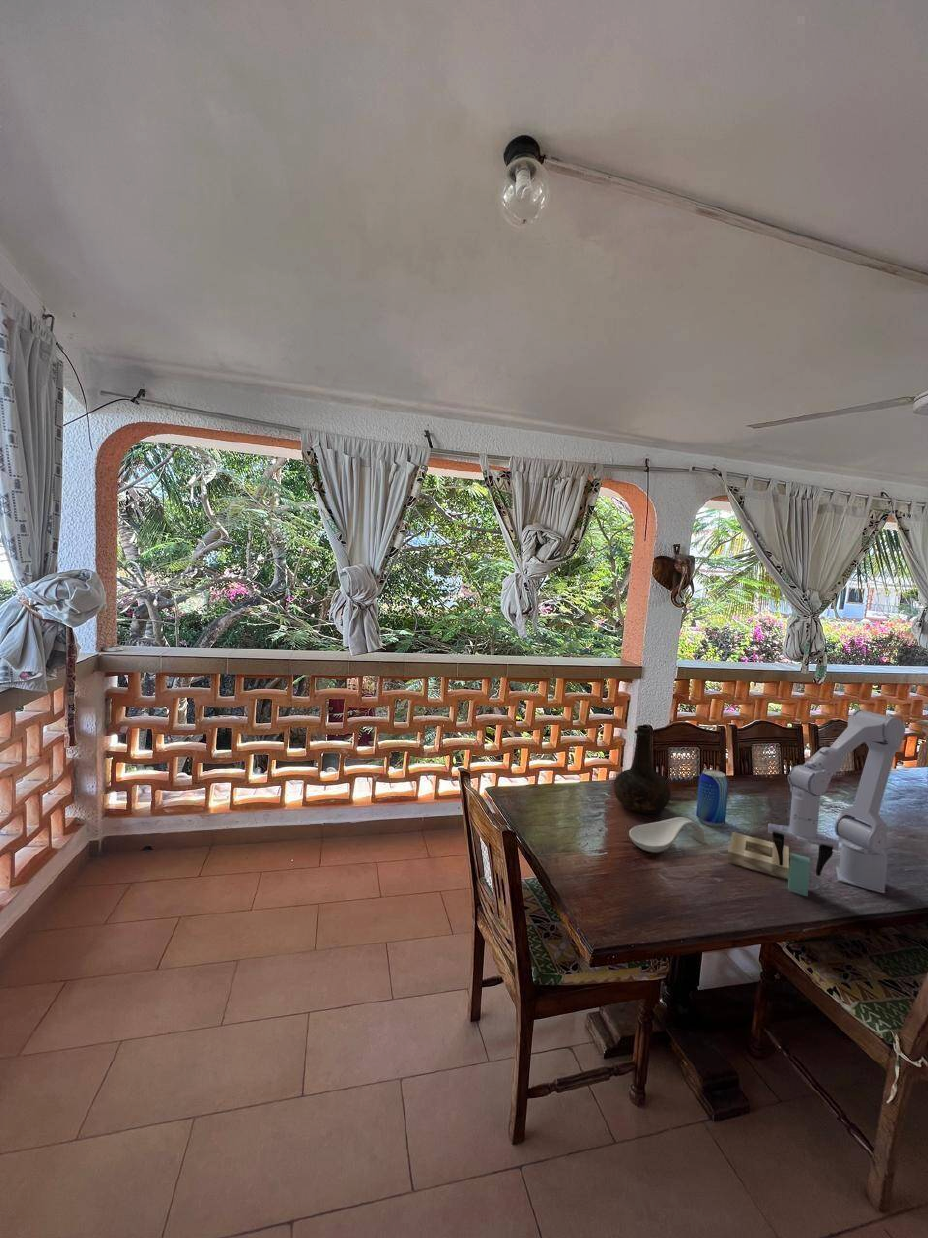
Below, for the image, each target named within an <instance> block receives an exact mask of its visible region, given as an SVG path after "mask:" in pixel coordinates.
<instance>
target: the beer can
mask: <svg viewBox="0 0 928 1238" xmlns="http://www.w3.org/2000/svg"><path fill="white" fill-rule="evenodd" d="M728 790H729V781H728V779H727V777H726V774H725V773H724V772H723V771H720V770H715V769H707V768H706V769H703V770H702V773H701V774H700V775H699V777H698V787H697V799H696V800H697V801H696V813H695V815H696V817H697V819H698V821H699V822H700V823H701V824H702V825H703V824H704V825H706V826H709V827H718V828H719V827H721V826H722V825H723V824H725V822H726V817H727V816H726V815H727V802H728Z"/></svg>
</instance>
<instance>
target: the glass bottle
mask: <svg viewBox="0 0 928 1238" xmlns="http://www.w3.org/2000/svg"><path fill="white" fill-rule="evenodd" d="M634 734H636V739H635V740H636V741H635V747H634V754H633V758H632V764H631V767H630V768H629V769H626V770H623V771H621V772H619V774H617V775H616V777H615V779H614V781H613V792H614V795H615V797H616V799H617V801H618V802H619V803H620V804H621V805H622V806H623V807H624V808H625V809H627V810H629V811H631V812H634V813H638V814H641V815H642V814H643V815H651V814H657V813H659V812H661V811H663V810H664V809H666V807H667V806H668V804H669V803H670V799H671V788H670V785H669V783H668V782H667V780H666V779H665V778H664V776H663V775H662V774H660V772H658V771H656V770H654V769H653V764H652V763H653V762H652V755H651V754H652V753H651V752H652V751H651V735H653V734H654V732H653V731H652V727H650V726H649V725H646V724H644V725H643V724H640V725H637V727H636V729H635V730H634Z"/></svg>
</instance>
